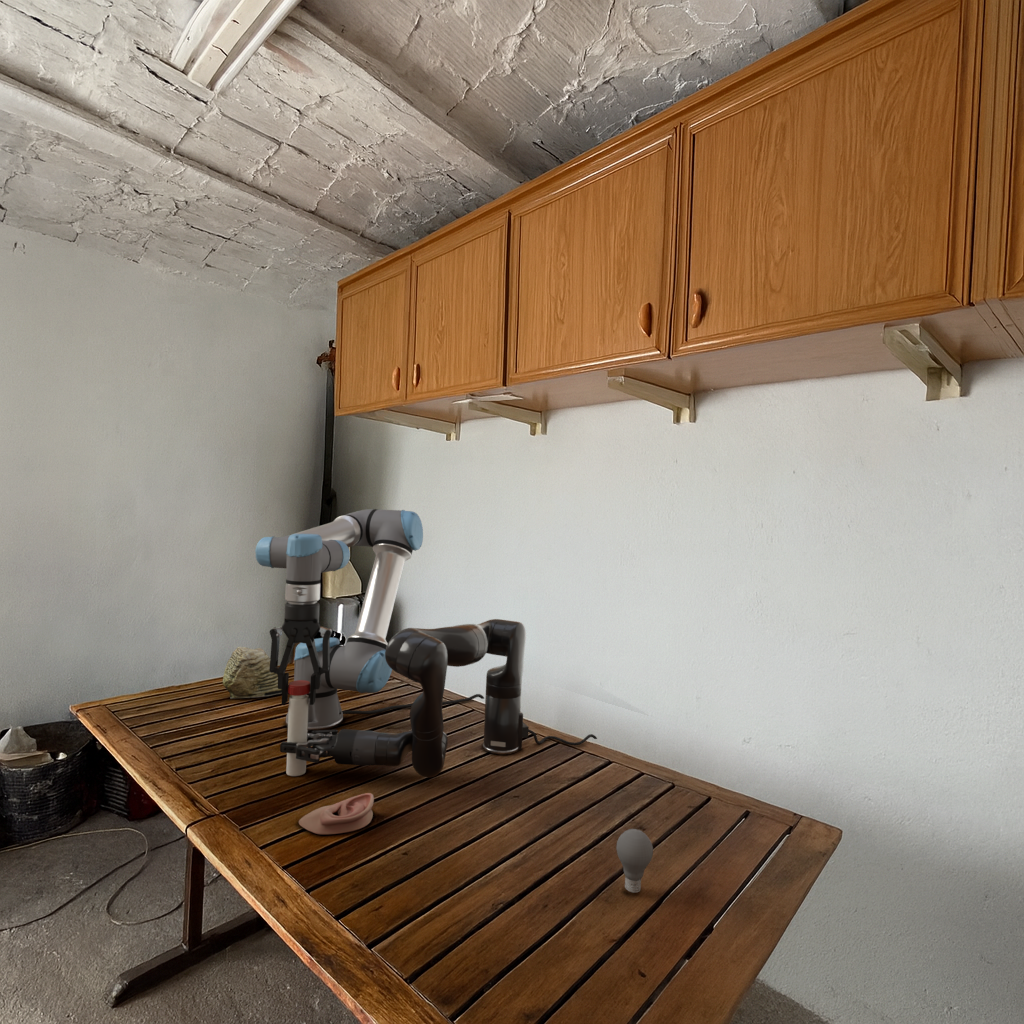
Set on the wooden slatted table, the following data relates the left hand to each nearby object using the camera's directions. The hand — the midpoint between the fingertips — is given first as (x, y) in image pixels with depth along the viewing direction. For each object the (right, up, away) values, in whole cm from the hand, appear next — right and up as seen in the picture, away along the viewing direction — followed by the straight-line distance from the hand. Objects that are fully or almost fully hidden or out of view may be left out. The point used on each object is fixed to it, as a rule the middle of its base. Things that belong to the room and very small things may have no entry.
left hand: (298, 702), depth 145 cm
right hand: (-3, -9, 0) cm, 10 cm away
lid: (0, +4, 0) cm, 4 cm away
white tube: (-1, -16, 0) cm, 16 cm away
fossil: (-32, -14, +53) cm, 64 cm away
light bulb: (+69, -20, -39) cm, 82 cm away
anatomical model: (+14, -17, -21) cm, 30 cm away
